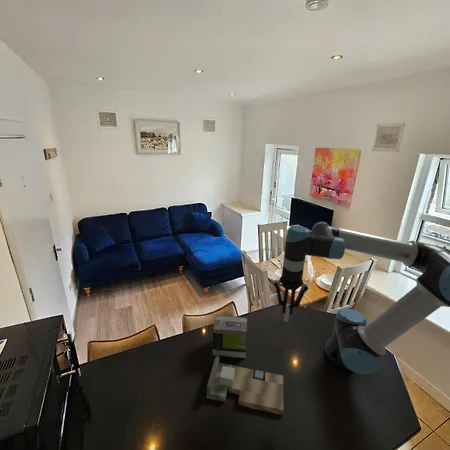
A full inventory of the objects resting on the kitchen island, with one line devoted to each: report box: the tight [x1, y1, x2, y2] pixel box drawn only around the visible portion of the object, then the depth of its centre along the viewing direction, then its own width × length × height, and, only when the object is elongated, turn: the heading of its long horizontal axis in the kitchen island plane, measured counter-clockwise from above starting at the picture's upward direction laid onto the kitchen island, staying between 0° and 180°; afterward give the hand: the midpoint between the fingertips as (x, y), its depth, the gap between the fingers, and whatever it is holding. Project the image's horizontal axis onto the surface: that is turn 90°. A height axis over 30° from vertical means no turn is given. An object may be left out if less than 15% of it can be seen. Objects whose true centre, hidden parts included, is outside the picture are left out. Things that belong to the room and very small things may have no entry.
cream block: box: [220, 366, 235, 387], centre depth 99 cm, size 5×5×4 cm
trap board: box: [206, 355, 284, 416], centre depth 98 cm, size 28×14×6 cm, turn 78°
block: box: [254, 369, 264, 381], centre depth 103 cm, size 3×3×3 cm
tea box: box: [212, 314, 248, 359], centre depth 115 cm, size 15×10×15 cm
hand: (286, 319), depth 102 cm, fingers closed
